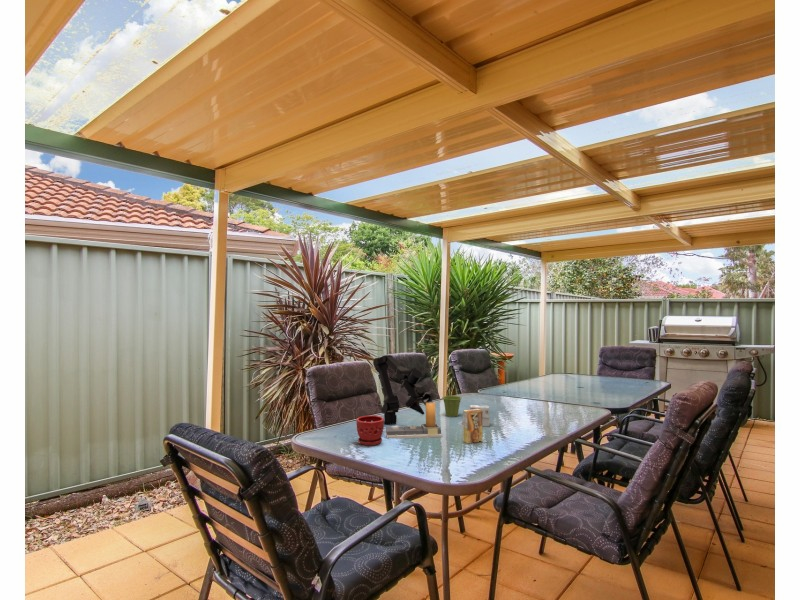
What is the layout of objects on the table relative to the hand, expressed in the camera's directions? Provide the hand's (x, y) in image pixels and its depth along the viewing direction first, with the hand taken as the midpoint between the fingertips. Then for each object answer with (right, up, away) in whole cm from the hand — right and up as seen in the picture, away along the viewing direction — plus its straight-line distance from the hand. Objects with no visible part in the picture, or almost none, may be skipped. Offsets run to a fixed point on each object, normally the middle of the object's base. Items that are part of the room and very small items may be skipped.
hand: (428, 412), depth 236 cm
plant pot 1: (-30, -11, -18) cm, 36 cm away
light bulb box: (+30, -12, +19) cm, 37 cm away
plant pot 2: (+17, -13, +44) cm, 49 cm away
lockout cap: (+1, -8, -1) cm, 8 cm away
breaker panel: (-8, -11, -2) cm, 14 cm away
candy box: (+20, -11, -15) cm, 28 cm away
